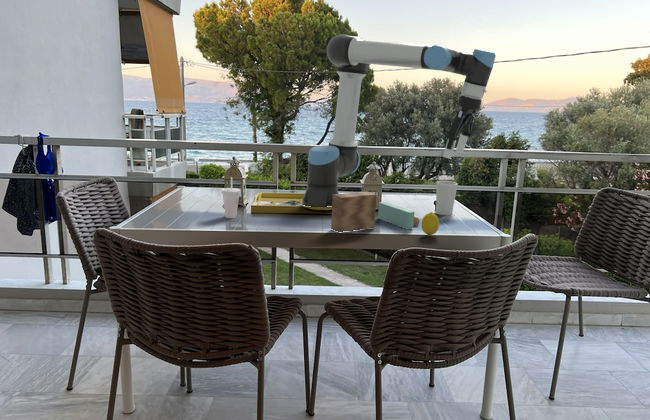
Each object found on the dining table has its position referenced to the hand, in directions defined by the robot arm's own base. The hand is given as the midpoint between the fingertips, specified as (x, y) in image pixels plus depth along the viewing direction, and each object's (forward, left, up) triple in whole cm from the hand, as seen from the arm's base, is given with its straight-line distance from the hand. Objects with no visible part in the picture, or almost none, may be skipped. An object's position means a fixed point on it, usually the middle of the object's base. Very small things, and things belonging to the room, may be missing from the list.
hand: (453, 155), depth 178 cm
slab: (-28, -29, -24) cm, 47 cm away
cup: (-2, +10, -24) cm, 26 cm away
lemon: (-4, -25, -24) cm, 35 cm away
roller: (-13, -11, -24) cm, 30 cm away
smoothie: (-72, -32, -24) cm, 82 cm away
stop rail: (-17, -15, -24) cm, 33 cm away
